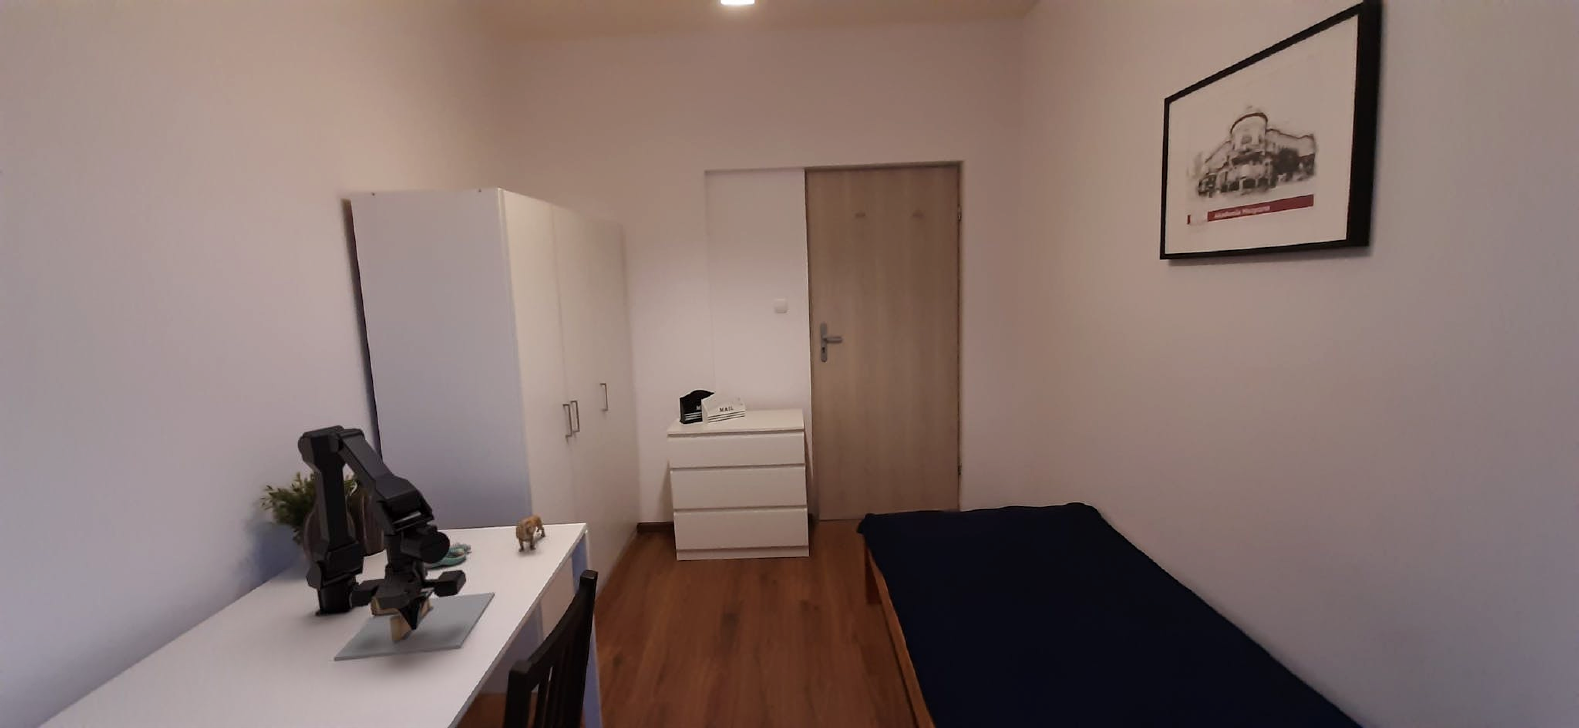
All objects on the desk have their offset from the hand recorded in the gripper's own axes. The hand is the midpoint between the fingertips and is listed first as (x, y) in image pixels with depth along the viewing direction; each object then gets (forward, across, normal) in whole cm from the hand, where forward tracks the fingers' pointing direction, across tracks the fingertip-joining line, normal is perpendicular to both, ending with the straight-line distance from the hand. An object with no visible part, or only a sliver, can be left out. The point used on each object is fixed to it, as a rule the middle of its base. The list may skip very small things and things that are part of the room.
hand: (415, 629), depth 123 cm
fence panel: (+1, -2, +4) cm, 5 cm away
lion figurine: (+2, +13, +40) cm, 42 cm away
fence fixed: (+1, -8, +10) cm, 13 cm away
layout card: (+2, -1, +5) cm, 5 cm away
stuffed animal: (+2, -6, +36) cm, 36 cm away
